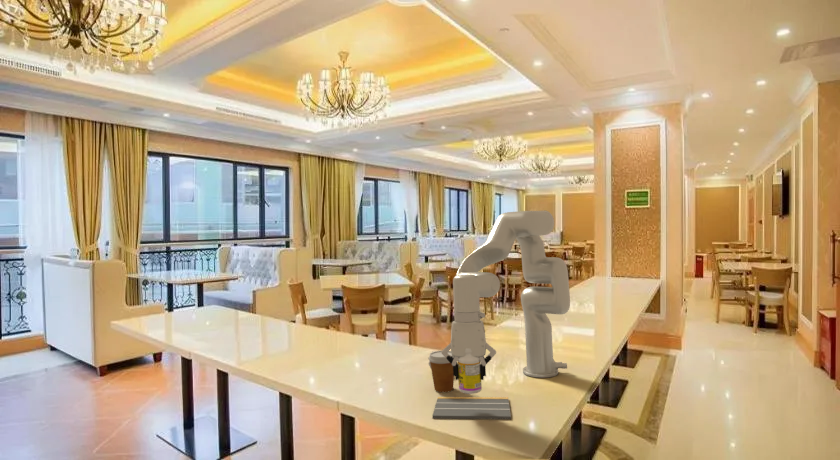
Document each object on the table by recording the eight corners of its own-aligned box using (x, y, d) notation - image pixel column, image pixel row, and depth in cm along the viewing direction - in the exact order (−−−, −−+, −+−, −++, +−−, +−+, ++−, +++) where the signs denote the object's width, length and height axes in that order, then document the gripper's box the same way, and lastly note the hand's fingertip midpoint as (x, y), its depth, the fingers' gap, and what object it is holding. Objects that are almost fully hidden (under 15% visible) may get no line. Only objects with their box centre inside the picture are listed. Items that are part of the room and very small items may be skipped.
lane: (508, 399, 140) (508, 396, 140) (510, 419, 125) (510, 416, 125) (438, 399, 143) (437, 396, 143) (432, 418, 128) (432, 415, 128)
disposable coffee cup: (449, 395, 146) (447, 358, 146) (424, 391, 151) (423, 355, 151) (462, 386, 154) (461, 351, 154) (438, 383, 159) (437, 349, 159)
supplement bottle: (458, 387, 135) (456, 344, 135) (480, 386, 134) (478, 343, 135) (459, 395, 128) (457, 349, 128) (482, 394, 128) (481, 348, 128)
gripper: (496, 314, 134) (499, 374, 134) (439, 315, 137) (441, 374, 136) (497, 319, 127) (500, 382, 126) (436, 319, 129) (438, 382, 129)
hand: (469, 378), depth 131 cm, fingers closed on supplement bottle, 6 cm apart
